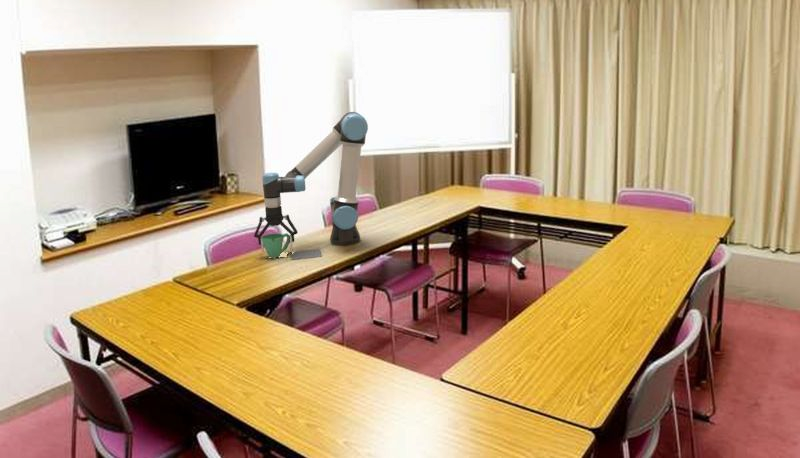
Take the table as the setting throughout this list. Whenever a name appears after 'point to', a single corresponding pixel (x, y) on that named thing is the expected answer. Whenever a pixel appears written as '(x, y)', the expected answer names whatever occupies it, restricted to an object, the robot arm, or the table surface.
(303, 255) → the slate mat
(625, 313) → the table surface
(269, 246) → the mug
